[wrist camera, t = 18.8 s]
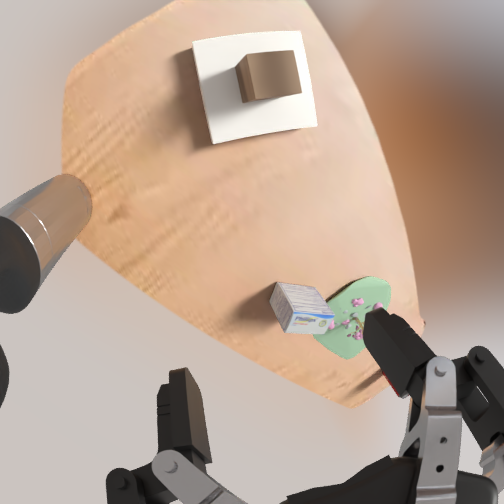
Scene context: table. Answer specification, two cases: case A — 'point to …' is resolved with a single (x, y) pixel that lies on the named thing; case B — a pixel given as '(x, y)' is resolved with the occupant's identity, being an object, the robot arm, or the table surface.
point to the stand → (228, 93)
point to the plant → (353, 315)
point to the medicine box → (300, 309)
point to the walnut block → (268, 75)
